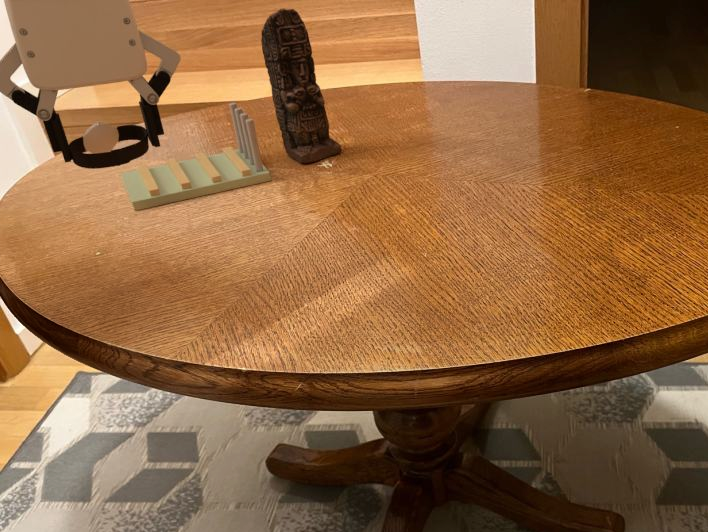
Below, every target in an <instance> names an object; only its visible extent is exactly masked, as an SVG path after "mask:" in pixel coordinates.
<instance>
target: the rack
mask: <svg viewBox="0 0 708 532" xmlns="http://www.w3.org/2000/svg"><path fill="white" fill-rule="evenodd" d="M228 106H229V110H230V114H231V119H232V124H233V129H234V132H235V138H236V142H237V147H238V149H234V148H233V147H232V146H226V147H222V152H219V153H215V154H209V155H206V154H205V152H204V151H203V152H197V153H194V156H195V157H194V158H189V159H185V160H179V161H177V159H176V157H172V158H166V159H165V162H166V163H164V164H160V165H154V166H149V167H148V165H147V164H146V163H141V164H137V165H136V167H137V169H134V170H129V171H125V172H120V173H119V175H120V178H121V181H122V184H123V186H124V189H125V191H126V194H127V196H128V198H129V201H130V202H131V205H132V207H133V210H134V212H135V211H140V210H145V209H149V208H154V207H158V206H163V205H167V204H172V203H177V202H180V201H185V200H190V199H195V198H199V197H203V196H207V195H213V194H217V193H221V192H226V191H231V190H235V189H239V188H244V187H249V186H253V185H257V184H262V183H267V182H271V181H272V176H271V172H270V171H269V169H267V168H266V166H265V165H264V164H263V161H262V155H261V151H260V147H259V146H260V145H259V142H258V137H257V132H256V127H255V121H254V118H249V115H248V113H247V112H243V109H242V108H243V107H238V105H237V103H236V102H230V103H229V104H228Z"/></svg>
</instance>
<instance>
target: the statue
mask: <svg viewBox="0 0 708 532" xmlns="http://www.w3.org/2000/svg"><path fill="white" fill-rule="evenodd" d="M260 33H261V39H260V43H261V51H262V55H263V59H264V64H265V65H264V66H265V68H266V70H267V71H266V72H267V75H268V77H269V84H270V86H271V97H272V101H273V106H274V108H275V109H274V110H275V111H274V113H275V116H276V121H277V123H278V126H279V130H280V131H281V139H282V145H283V147H284V149H285V153H286V154H287V155H288V156H289V157H290V158H291V159H292V160H295V161H297V162H299V164H310V163H313V162H314V163H315V162H318V161H320V160H321V161H322V160H323V159H326V158H329V157H331V156H335V155H338V154H340V153H341V152H342V145H341V144H340V143H339V142H338V141H336V140H335V139H333V138H332V137H330V122H329V119H328V116H327V111H326V106H325V104H326V102H325V98H324V96H323V93H322V91H321V87H320V86H319V84H318V83H317V76H316V73H315V71H316V68H315V60H314V57H313V56H312V55H313V49H312V45H311V42H310V36H309V31H308V30H307V28H306V24H305V22H304V20H303V19H302V17H301V15H300V13H298V11H297V10H296V9H294V8H289V9H286V8H280V9H277V10H276V11H275V12H273V13H271V14H270V15H269V16H268V17H267V18H266V20H265V22H264V24H263V27H262V29H261V32H260Z"/></svg>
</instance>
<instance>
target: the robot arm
mask: <svg viewBox="0 0 708 532" xmlns="http://www.w3.org/2000/svg"><path fill="white" fill-rule="evenodd" d="M3 2H4V6H5V10H6V15H7V18H8V21H9V25H10V28H11V32H12V36H13V39H14V44H13V45H12V46H11V47H10V48H9V49H8V51H7V52H6V53H5V54H4V55H3V56H2V57H1V58H0V94H2V95H3V96H5V97H7V98H8V99H10V100H11V101H12V102H13V103H14V104H15V105H17V106H19V108H20V107H21V108H22V109H23V110H25V111H27V112H29V113H31V114H32V115H34V116H36V117H37V118H38V119H39V120H40V121H42V123H43V126H44V128H45V132H46V134H47V137H48V140H49V144H50V146H51V148H52V152H53V153H61V154H62V157H63V159H64V160H63V161H64V163H72V161H73V158H72V155H71V152H70V149H69V144H70V143H69V141H68V138H67V134H66V132H65V128H64V125H63V123H62V119H61V116H60V114H59V112H58V113H57V111H56V109H55V104H56V101H57V98H58V97H57V96H58V92H59V91H63V90H71V89H79V88H86V87H93V86H101V85H109V84H116V83H123V82H129V84H130V85H131V86H132V87H133V88H134V90H135V91H137V93H138V94H139V98H140V99H139V101H138V104H139V108H140V112H141V116H142V120H143V123H144V128H145V129H146V130H147V133H148V142H149V143H150V144H151V146H152V147H154V148H161V142H160V138H159V136H163V135H165V131H164V127H163V122H162V119H161V116H160V115H161V114H160V111H159V107H158V103H159V102H160V98H161V97H162V95H163V93H165V91H166V89H167V87H168V86H169V84H170V83H171V81H172V80H171V79H172V78H173V75H174V74H175V72H176V70H177V68H178V66H179V64H180V62H181V56H180V53H178V52H177V51H176V50H174V48H171V47H170V46H168V45H166V44H164V43H162V42H161V41H160V40H157V39H155V38H153V37H152V36H150V35H149V34H147V33H145V32H143V31H142V30H140V29H139V28H138V23H137V21H136V18H135V14H134V12H133V9H132V6H131V3H130V0H3ZM145 51H146V52H148V53H150V54H152V55H154V56H155V57H157V58H159V59H160V62H159V64H158V68H157V69H156V70H154V71H155V72H154V73H153V74H152V76H151V77H150V79H149V81H148V80H147V79H146V78H145V77H144V75H145V74H146V73H147V71H148V62H147V57H146V56H147V55H146V53H145ZM21 65H22V67H23V69H24V72H25V74H26V76H27V78H28V81H29V83H30V85H32V87H34V88H36V89H38V93H37V96H35V95H34V94H33V93H31V92H29V91H27V90H26V89H24V88H22V87H21V86H19V85H18V84H16V83H15V82H14V81H13V80H12V79H11V78H12V76H13V74H15V72H16V71H17V70H18V69H19V68H20V67H21Z"/></svg>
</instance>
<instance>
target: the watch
mask: <svg viewBox="0 0 708 532" xmlns="http://www.w3.org/2000/svg"><path fill="white" fill-rule="evenodd" d="M124 141H137V142H136V143H133V144H130V145H127V146H124V147H120V148H116V149H114V148H115V147H116V145H117V144H118V143H121V142H124ZM68 144H69V149H70V152H71V155H72V158H73V160H72V162H73V164H74V165H75V166H77V167H79V168H83V169H89V170H90V169H91V170H95V169H97V170H98V169H107V168H112V167H113V168H114V167H120V166H122V165H126V164H129V163H131V161H135V160H136V159H139V158H141V157H143V156H144V155H145V154H146V153H148V151H149V148H150V147H149V138H148V133H147V130H146V127H145V126H142V125H137V124H125V125H116V126H113V125H111V124H109V123H107V122H102V121H101V120H97V121H96V122H94V123H92V124H91V125H90V126H89V127H88V128H87V129H86V130H85V132H84V135H81V136H80V137H77V138H75V139H74V140H71V141H70V142H69V143H68ZM88 152H89V153H88Z"/></svg>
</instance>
